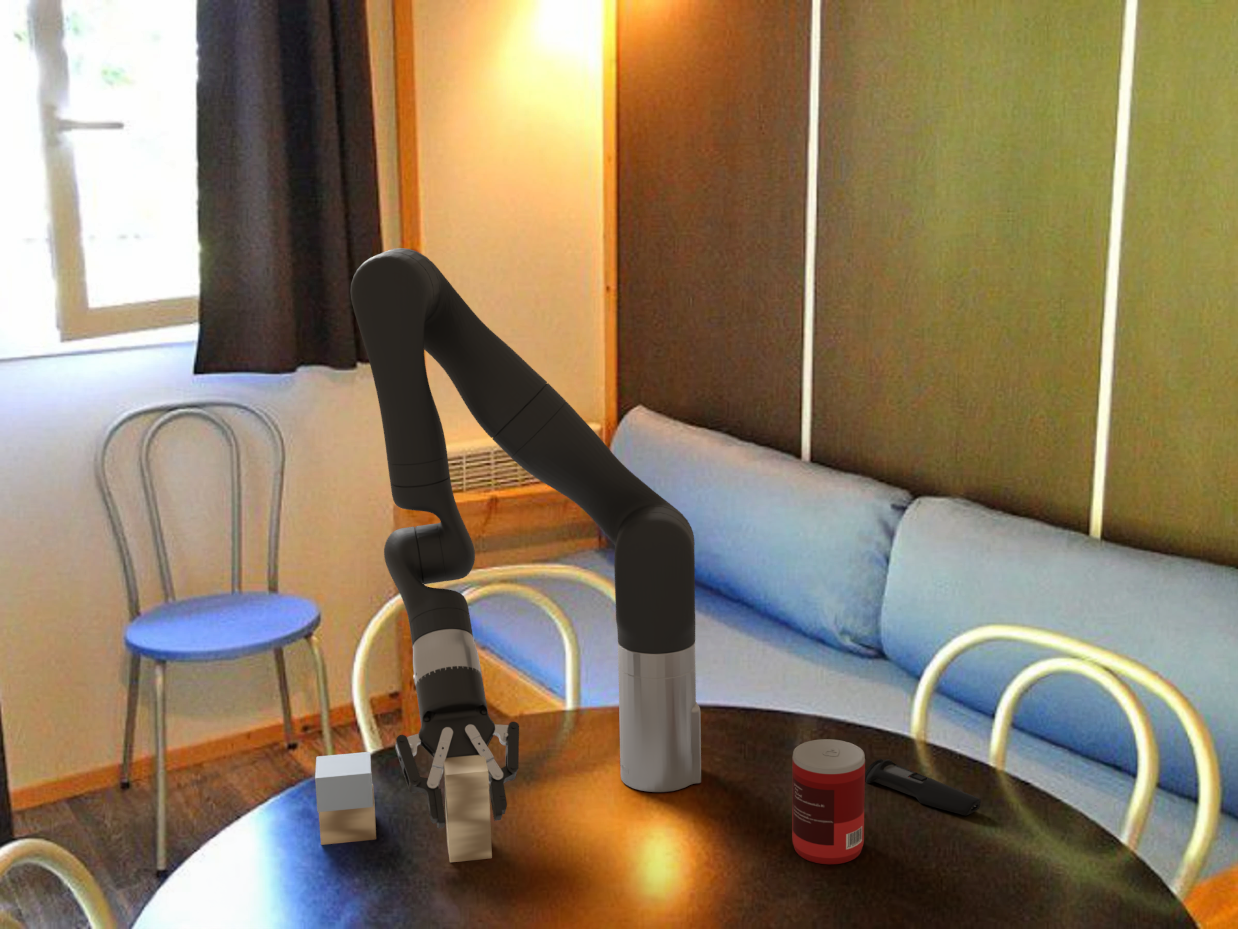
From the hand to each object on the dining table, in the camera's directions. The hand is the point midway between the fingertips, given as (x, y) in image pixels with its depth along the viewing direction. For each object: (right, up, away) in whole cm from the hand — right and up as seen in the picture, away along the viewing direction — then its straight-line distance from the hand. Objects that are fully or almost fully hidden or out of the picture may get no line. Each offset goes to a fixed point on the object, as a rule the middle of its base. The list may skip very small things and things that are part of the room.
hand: (470, 821), depth 152 cm
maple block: (0, -4, +3) cm, 5 cm away
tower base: (-15, -3, +8) cm, 17 cm away
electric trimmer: (+51, -1, +14) cm, 53 cm away
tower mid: (-15, +1, +7) cm, 16 cm away
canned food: (+38, -4, +1) cm, 39 cm away
